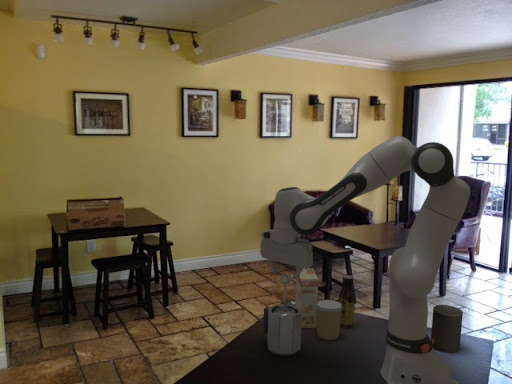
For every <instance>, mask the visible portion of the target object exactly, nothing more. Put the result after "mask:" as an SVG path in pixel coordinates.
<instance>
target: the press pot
mask: <svg viewBox="0 0 512 384" xmlns="http://www.w3.org/2000/svg"><path fill="white" fill-rule="evenodd" d="M277 308H283V303H277V304H276V303H275V304H274V305H271V306H267V307H265V308H263V326H262V327H263V334H264V335H267V351H268V353H269V354H271V355H274V357H281V358H291V357H295V356H298V354H299V353H300V351H301V347H302V346H301V344H302V328H301V318H302V312H301V309H300V308H299V307H296V306H295V305H294V304H293V305H292V304H291V303H288V304H287V303H286V308H290V309H293V310H295V311H296V314H294V315H278V314H275V313H274V310H275V309H277Z"/></svg>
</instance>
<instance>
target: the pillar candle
mask: <svg viewBox="0 0 512 384" xmlns="http://www.w3.org/2000/svg"><path fill="white" fill-rule="evenodd" d="M432 309H433V311H432V317H431V318H432V319H431V322H432V323H431V331H430V333H431V334H430V335H431V336H430V340H432V339H433V338H434V343H433V344H432V349H433V350H436V351H438V352H441V353H444V354H445V353H446V354H455V353H458V352H459V351H460V348H461V338H462V337H461V336H462V329H463V328H462V326H463V315H464V311H463V310H462V309H460V308H459V307H456V306H453V305H450V304H449V305H448V304H437V305H434V306H433V308H432Z"/></svg>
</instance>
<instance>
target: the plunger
mask: <svg viewBox="0 0 512 384" xmlns="http://www.w3.org/2000/svg"><path fill="white" fill-rule="evenodd" d="M279 282H280V283H281V284H282V285H283V303H282V304H283V308H277V309H275V310H274V313H275V314H278V315H294V314H296V311H295V310H293V309H290V308H286V304H287V298H288V297H287V295H288V293H287V291H288V290H287V288H288V287H287V286H289V284H291V282H292V277H291V275H290V274H289V273H288V272H283V273H281V274H280V276H279Z"/></svg>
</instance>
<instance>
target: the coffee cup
mask: <svg viewBox="0 0 512 384" xmlns="http://www.w3.org/2000/svg"><path fill="white" fill-rule="evenodd" d="M316 307H317V328H316V330H317V337H319V338H320V339H323V340H326V341H332V340H333V341H334V340H337V339H339V336H340V329H341V328H340V321H341V311H342V306H341V304H340V303H339V302H338V301H337V300H333V299H321V300H319V301H317V305H316Z"/></svg>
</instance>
